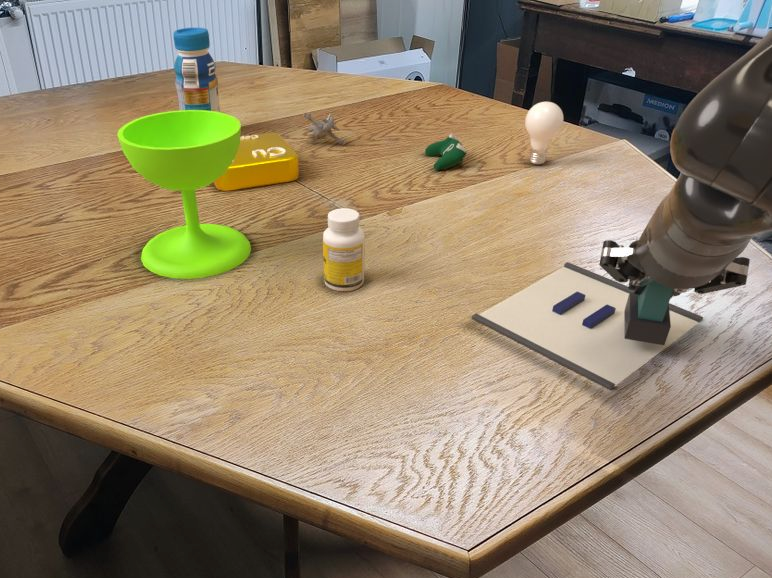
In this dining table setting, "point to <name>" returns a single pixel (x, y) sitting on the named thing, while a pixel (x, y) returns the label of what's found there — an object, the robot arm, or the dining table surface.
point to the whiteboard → (580, 325)
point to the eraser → (648, 314)
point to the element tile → (260, 163)
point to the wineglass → (187, 187)
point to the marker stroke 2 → (598, 316)
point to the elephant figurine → (323, 128)
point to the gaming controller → (446, 152)
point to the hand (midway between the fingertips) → (652, 287)
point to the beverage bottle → (195, 71)
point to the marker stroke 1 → (568, 303)
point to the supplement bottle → (344, 251)
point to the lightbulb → (542, 128)
